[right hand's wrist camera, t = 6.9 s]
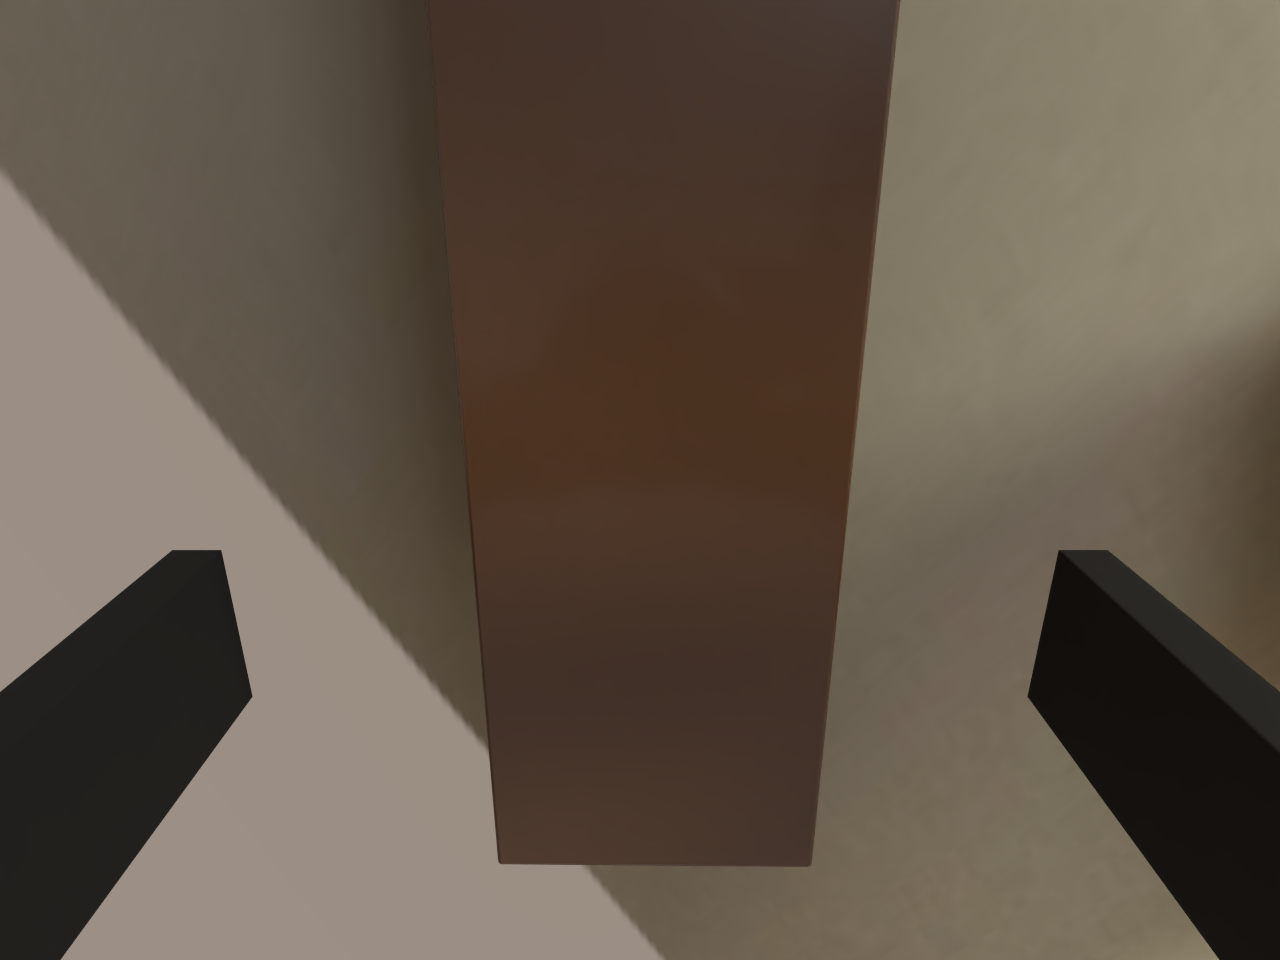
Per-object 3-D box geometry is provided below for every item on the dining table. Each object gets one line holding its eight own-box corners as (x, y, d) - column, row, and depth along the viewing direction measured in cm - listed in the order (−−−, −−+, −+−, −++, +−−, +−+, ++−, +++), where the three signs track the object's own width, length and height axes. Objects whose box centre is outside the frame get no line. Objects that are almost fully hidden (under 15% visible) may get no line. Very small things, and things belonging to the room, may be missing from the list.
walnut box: (500, -777, 12) (191, -2734, 4) (823, -781, 12) (1188, -2771, 4) (558, 589, 21) (496, 865, 13) (747, 590, 21) (812, 868, 13)
